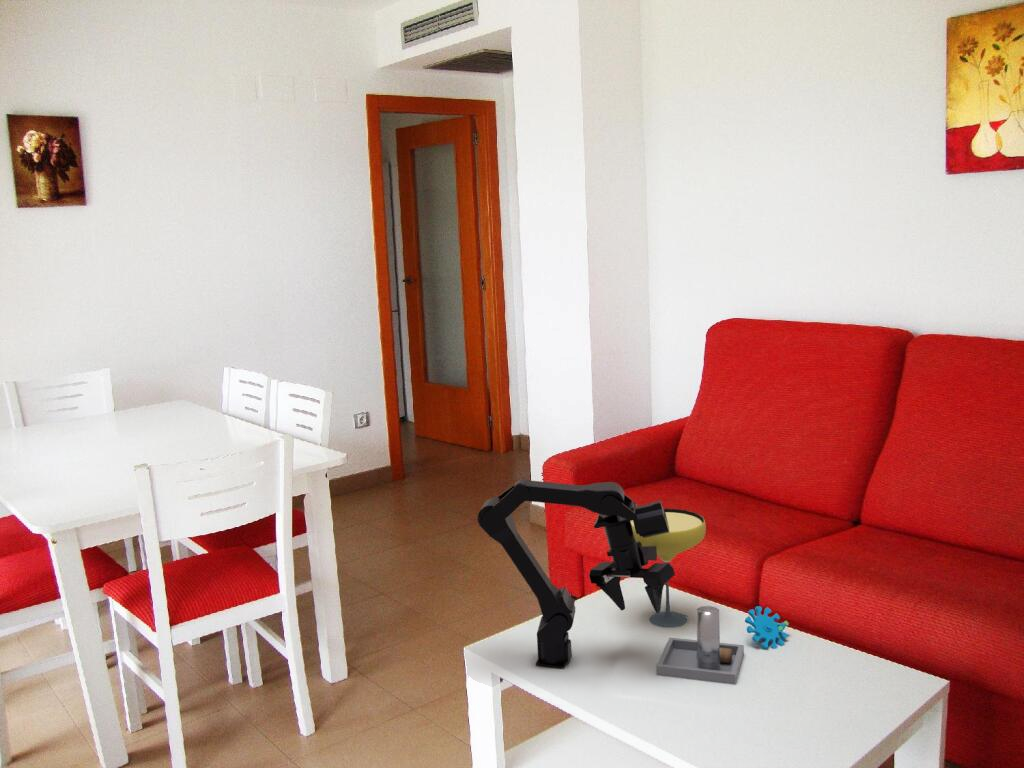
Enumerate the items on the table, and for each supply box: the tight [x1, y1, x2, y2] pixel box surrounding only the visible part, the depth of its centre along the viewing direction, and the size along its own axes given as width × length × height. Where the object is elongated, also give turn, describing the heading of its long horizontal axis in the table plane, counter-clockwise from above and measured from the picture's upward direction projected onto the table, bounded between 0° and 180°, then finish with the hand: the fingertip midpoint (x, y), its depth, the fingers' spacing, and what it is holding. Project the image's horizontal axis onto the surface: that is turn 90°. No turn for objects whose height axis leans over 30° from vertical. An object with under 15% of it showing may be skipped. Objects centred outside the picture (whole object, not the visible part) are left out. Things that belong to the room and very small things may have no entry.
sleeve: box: [696, 605, 721, 671], centre depth 197 cm, size 5×5×13 cm
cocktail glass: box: [631, 508, 707, 629], centre depth 222 cm, size 18×18×25 cm
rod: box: [720, 648, 732, 664], centre depth 202 cm, size 7×3×3 cm
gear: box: [744, 605, 790, 650], centre depth 211 cm, size 11×6×10 cm
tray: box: [656, 636, 745, 685], centre depth 201 cm, size 16×14×3 cm
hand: (640, 610), depth 202 cm, fingers open, 9 cm apart
